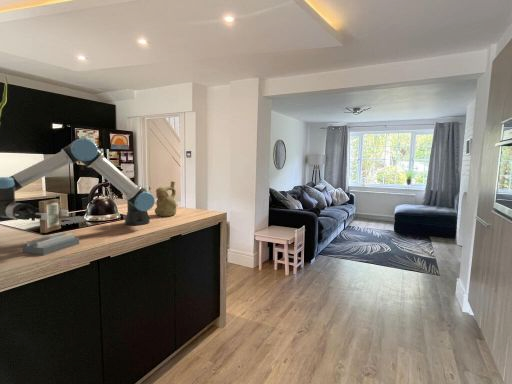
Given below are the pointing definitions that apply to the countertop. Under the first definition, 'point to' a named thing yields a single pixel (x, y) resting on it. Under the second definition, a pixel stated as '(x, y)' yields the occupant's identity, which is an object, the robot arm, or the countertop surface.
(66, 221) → the play button award
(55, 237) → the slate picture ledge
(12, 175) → the robot arm
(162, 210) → the ceramic vessel
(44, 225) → the walnut photo frame
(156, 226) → the countertop surface
